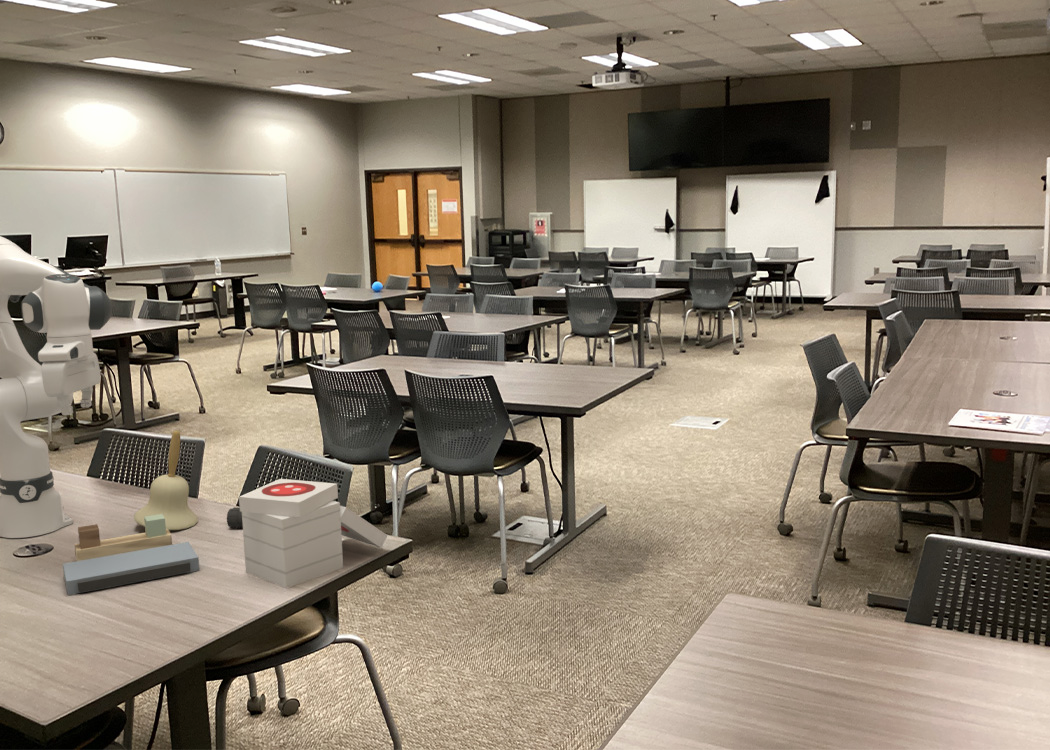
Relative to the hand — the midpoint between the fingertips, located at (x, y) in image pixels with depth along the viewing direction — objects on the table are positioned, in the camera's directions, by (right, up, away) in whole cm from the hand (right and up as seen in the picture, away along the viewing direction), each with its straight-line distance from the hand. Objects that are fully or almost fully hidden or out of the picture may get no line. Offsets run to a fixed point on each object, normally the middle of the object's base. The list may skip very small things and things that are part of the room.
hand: (77, 410), depth 202 cm
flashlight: (+33, -31, +27) cm, 53 cm away
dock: (+13, -35, -3) cm, 38 cm away
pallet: (+7, -34, +8) cm, 36 cm away
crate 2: (+13, -29, +11) cm, 34 cm away
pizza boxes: (+52, -34, +2) cm, 62 cm away
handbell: (+8, -31, +30) cm, 44 cm away
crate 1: (+1, -31, +4) cm, 31 cm away
